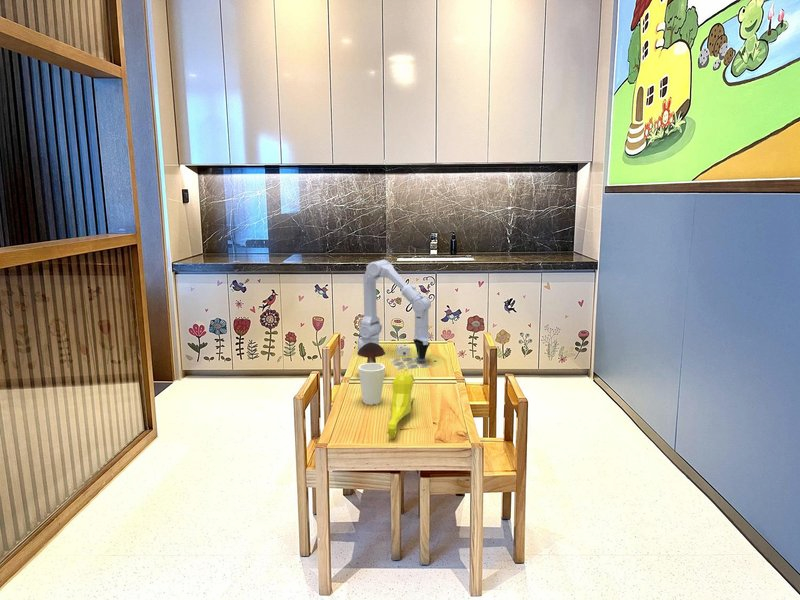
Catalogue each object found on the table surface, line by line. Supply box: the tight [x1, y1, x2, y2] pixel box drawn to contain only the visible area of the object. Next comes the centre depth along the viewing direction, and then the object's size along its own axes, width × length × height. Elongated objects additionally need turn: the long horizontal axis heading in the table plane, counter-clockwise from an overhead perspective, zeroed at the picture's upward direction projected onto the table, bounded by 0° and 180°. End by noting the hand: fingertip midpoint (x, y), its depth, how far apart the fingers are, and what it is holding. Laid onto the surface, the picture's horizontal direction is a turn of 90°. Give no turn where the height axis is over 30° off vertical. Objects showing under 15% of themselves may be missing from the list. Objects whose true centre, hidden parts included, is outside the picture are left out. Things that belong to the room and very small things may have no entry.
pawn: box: [416, 350, 427, 362], centre depth 243 cm, size 4×4×7 cm
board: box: [389, 356, 432, 370], centre depth 243 cm, size 15×15×1 cm
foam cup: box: [358, 362, 386, 406], centre depth 202 cm, size 10×9×13 cm
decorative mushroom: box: [356, 342, 386, 363], centre depth 225 cm, size 11×11×15 cm
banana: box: [386, 367, 416, 439], centre depth 188 cm, size 7×20×35 cm
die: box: [395, 344, 411, 357], centre depth 255 cm, size 5×5×5 cm
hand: (421, 356), depth 244 cm, fingers closed on pawn, 3 cm apart
